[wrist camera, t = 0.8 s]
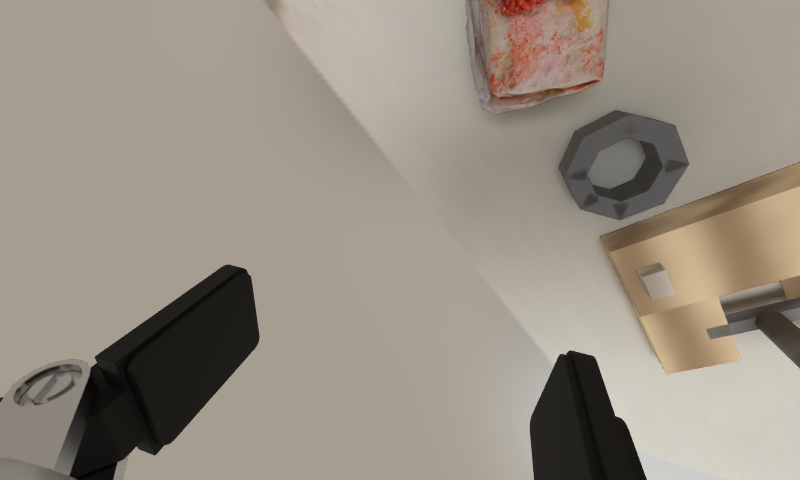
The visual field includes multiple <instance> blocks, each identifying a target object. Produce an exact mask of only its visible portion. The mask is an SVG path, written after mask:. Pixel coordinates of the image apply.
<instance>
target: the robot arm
mask: <svg viewBox="0 0 800 480" xmlns="http://www.w3.org/2000/svg"><path fill="white" fill-rule="evenodd" d="M258 342H259V330H258V322H257V316H256V308H255V301H254V294H253V287H252V280H251V276H250V275H249V274H248V273H247V270H246V269H244V268H240V267H236V266H232V265H225V266H223V267H221V268H220V269H218V270H217V271H216V272H214V273H213V274H211V275H210V276H208V277H207V278H206V279H204V280H203V281H202V282H200V283H199V284H197V285H196V286H194V287H193V288H191V289H190V290H189V291H187V292H186V293H184V294H183V295H182V296H180V297H179V298H177V299H176V300H175V301H173V302H172V303H171V304H169V305H168V306H166V307H165V308H163V309H162V310H160V311H159V312H158V313H156V314H155V315H153V316H152V317H150V318H149V319H148V320H146V321H145V322H143V323H142V324H140V325H139V326H138V327H136V328H135V329H133V330H132V331H131V332H129V333H128V334H126V335H125V336H124V337H122V338H121V339H119V340H118V341H117V342H115V343H114V344H112V345H111V346H109V347H108V348H106V349H105V350H104V351H102V352H101V353H99V354H98V355H97V356H95V359H96V361H97V364H95V365H94V366H93V367H91V368H90V366H89V364H88V363H87V362H85V361H83V360H78V359H68V360H61V361H57V362H54V363H50V364H47V365H45V366H43V367H40V368H38V369H36V370H34V371H33V372H31V373H29V374H27V375H26V376H24V377H22V378H21V379H20V380H19V381H17V382H16V383H15V384H14V385H12V387H11V388H10V389H9V390H8V392H7V393H6V394H5V396H4V397H2V398H0V480H123V478H124V473H125V469H126V465H127V460H128V455H129V453H131V451H132V450H133V449H134V448H135V447H136V446H137V447H138V449H140V450H142V451H145V452H147V453H150V454H153V455H156V454H157V453H158V452H159V451H160V450H161V448H162V447H163V446H164V445H167V444H170V443H171V442H172V441H173V440H174V439H175V438H176V437H177V436H178V435H179V434H180V433H181V432H182V430H183V429H184V428H185V427H186V426H187V425H188V424H189V423H190V422H191V420H192V419H193V418H194V417H195V416H196V415H197V414H198V412H199V411H200V410H201V409H202V408H203V407H204V406H205V404H206V403H207V402H208V401H209V400H210V399H211V398H212V397H213V395H214V394H215V393H216V392H217V391H218V389H220V387H221V386H222V385H223V384H224V383H225V382H226V381H227V380H228V378H229V377H230V376H231V375H232V374H233V373H234V372H235V370H236V369H237V368H238V367H239V366H240V365H241V364H242V362H243V361H244V360H245V359H246V358H247V357H248V356H249V355H250V353H251V352H252V351H253V350H254V349H255V348H256V346H257V344H258ZM530 436H531V449H532V460H533V472H534V480H647V479H646V476H645V474H644V471H643V468H642V465H641V462H640V460H639V457H638V454H637V451H636V449H635V446H634V443H633V440H632V438H631V435H630V432H629V429H628V427H627V425H626V423H625V422H624V421H623V420H622V419H621V418H619V417H616V416H615V414H614V411H613V408H612V405H611V402H610V399H609V396H608V393H607V390H606V387H605V384H604V381H603V379H602V376H601V373H600V370H599V367H598V364H597V361H596V359H595V357H594V356H591V355H587V354H583V353H579V352H575V351H569V352H568V353H567V354H566V355H564V354H560V355H559V357H558V359H557V361H556V363H555V366H554V368H553V370H552V372H551V374H550V377H549V379H548V381H547V383H546V385H545V388H544V390H543V392H542V394H541V397H540V399H539V401H538V403H537V405H536V407H535V410H534V412H533V414H532V417H531V421H530Z"/></svg>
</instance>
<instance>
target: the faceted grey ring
mask: <svg viewBox="0 0 800 480" xmlns="http://www.w3.org/2000/svg"><path fill="white" fill-rule="evenodd" d="M625 138H632V139H636V140H640V142H641V145H642V147H643V150H644V152H645V155H646V157H647V158H646V159H645V161H644V163H643V165H642V166H641V168H640V170H639V172H638V173H637V175H636V177H635V179H634V180H631V181H629V182H627V183H624V184H622V185H620V186H617V187H615V188H612V189H610V190H609V189H605V188H602V187H598V186H594V185H592V184H591V182H590V179H589V177H588V175H587V174H588V172H589V170H590V168H591V166H592V164H593V162H594V160H595V158H596V156H597V154H598V152H599V151H600V150H602V149H604V148H606V147H608V146H610V145H612V144H614V143H616V142H619V141H621V140H623V139H625ZM688 165H689V162H688V159H687V157H686V154H685V151H684V148H683V145H682V143H681V140H680V137H679V134H678V132H677V129H676V126H675V125H672V124H669V123H665V122H662V121H659V120H655V119H650V118H646V117H642V116H637V115H633V114H629V113H625V112H620V111H616V110H615V111H613V112H611V113H610V114H608V115H606V116H604V117H602V118H600V119H598V120H596V121H594V122H592V123H590V124H588V125H586V126H584V127H582V128H581V129H579V130H577V131H575V132H574V134H573V137H572V139H571V141H570V143H569V146H568V148H567V150H566V152H565V154H564V157H563V159H562V161H561V163H560V166H559V169H560V171H561V173H562V175H563V177H564V179H565V181H566V184H567V186H568V188H569V190H570V192H571V194H572V196H573V198H574V200H575V201H576V203H577V205H578V206H579V208H580V209H581V210H584V211H588V212H592V213H595V214H599V215H603V216H606V217H610V218H613V219H617V220H621V219H624V218H627V217H629V216H632V215H635V214H637V213H640V212H642V211H645V210H648V209H650V208H653V207H655V206H658V205H661V204H663V203H664V202H665V201H666V199H667V198H668V196H669V195H670V193H671V192H672V190H673V189H674V187H675V185H676V184H677V182H678V181H679V179H680V178H681V176H682V175H683V173H684V171H685V170H686V168H687V167H688Z"/></svg>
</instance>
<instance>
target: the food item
mask: <svg viewBox="0 0 800 480" xmlns="http://www.w3.org/2000/svg"><path fill="white" fill-rule="evenodd" d="M608 3H609V0H466V12H467V24H466V30H467V40H468V45H469V52H470V59H471V66H472V71H473V77H474V81H475V88H476V91H477V93H478V95H479V97H480V105H481V106H482V108H483V109H484V110H486V111H487V112H489V111H490V112H492V113H493V114H498V113H503V112H508V111H512V110H518V109H524V108H529V107H534V106H536V105H539V104H541V103H543V102H545V101H547V100H549V99H551V98H554V97H556V96H563V95H568V94H573V93H578V92H581V91H583V90H585V89H587V88H589V87H591V86H593V85H595V84H596V83H598V82H599V81H601V79H602V76H603V71H604V58H605V43H606V33H607V21H608Z"/></svg>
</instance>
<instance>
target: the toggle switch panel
mask: <svg viewBox="0 0 800 480" xmlns="http://www.w3.org/2000/svg"><path fill="white" fill-rule="evenodd" d="M601 240H602V242H603V244H604V246H605V248H606V250H607V252H608V255H609V257H610V259H611V261H612V263H613V265H614V267H615V270H616V272H617V274H618V276H619V278H620V280H621V282H622V285H623V287H624V289H625V291H626V293H627V295H628V297H629V300H630V302H631V304H632V306H633V308H634V310H635V312H636V315H637V317H638V319H639V321H640V323H641V325H642V327H643V330H644V332H645V334H646V336H647V338H648V340H649V342H650V345H651V347H652V349H653V351H654V353H655V354H656V356H657V358H658V360H659V362H660V363H661V365H662V367H663V369H664V371H665V372H666V374H671V373H676V372H681V371H687V370H692V369H697V368H703V367H708V366H713V365H718V364H724V363H729V362H734V361H740V360H742V359H741V356H740V354H739V351H738V348H737V346H736V343H735V341H734V338H733V335H734V334H738V333H743V332H748V331H752V330H757V329H760V330H761V331H762V332H763V333H764V334H765V335H766V336H767V337H768V338H769V339H770V340H771V341H772V342H773V343H774V344H775V345H776V346H777V347H778V348H779V349H780V350H782V351H783V352H784V353H785V354H786V355H787V356H788V357H789V358H790V359H791V360H792V361H793V362H794V363H795V364H796V365H797V366H798V367H799V368H800V329H799V328H798V327H797V326H796V325H795V324H794V323H792V322H796V323H797V324H798V325H799V326H800V162H799V163H797V164H794V165H791V166H789V167H786V168H783V169H780V170H778V171H775V172H772V173H770V174H767V175H764V176H762V177H759V178H756V179H754V180H751V181H748V182H746V183H743V184H740V185H738V186H735V187H732V188H729V189H727V190H724V191H721V192H719V193H716V194H713V195H711V196H708V197H705V198H703V199H700V200H697V201H695V202H692V203H689V204H686V205H684V206H681V207H678V208H676V209H673V210H670V211H668V212H665V213H662V214H660V215H657V216H654V217H652V218H649V219H646V220H644V221H641V222H638V223H635V224H633V225H630V226H627V227H625V228H622V229H619V230H617V231H614V232H611V233H609V234H606V235H603V236H601ZM780 280H781V284H782V287H783V290H784V293H785V296H786V300H787V301H783V302H778V303H774V304H770V305H766V306H762V307H758V308H753V309H749V310H745V311H741V312H737V313H732V314H728V315H725V314H724V311H723V309H722V306H721V304H720V301H719V298H718V297H719V296H723V295H726V294H730V293H734V292H738V291H742V290H746V289H749V288H753V287H757V286H761V285H765V284H769V283H772V282H776V281H780Z"/></svg>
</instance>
